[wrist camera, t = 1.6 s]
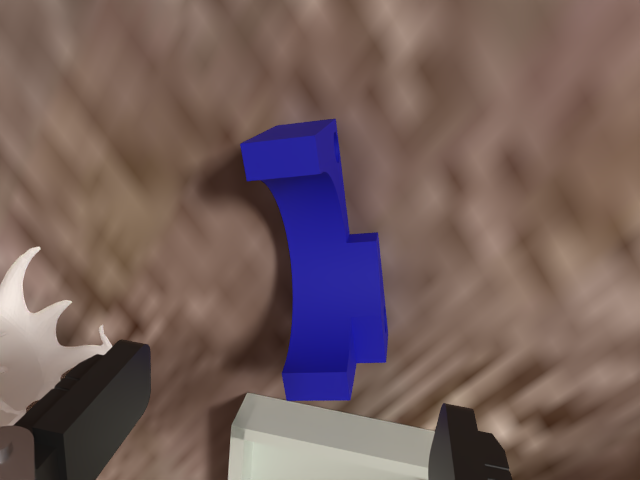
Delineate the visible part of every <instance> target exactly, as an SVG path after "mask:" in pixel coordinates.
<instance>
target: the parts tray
mask: <svg viewBox="0 0 640 480" xmlns="http://www.w3.org/2000/svg"><path fill="white" fill-rule="evenodd" d="M434 434H435V431H431V430H426V429H422V428H417V427H412V426H407V425H402V424H397V423H392V422H388V421H383V420H378V419H373V418H368V417H363V416H359V415H354V414H349V413H344V412H339V411H334V410H329V409H325V408H320V407H315V406H310V405H305V404H300V403H295V402H291V401H286V400H281V399H276V398H271V397H266V396H262V395H257V394H252V393H247V394H246V396H245V398H244V400H243V403H242V405H241V407H240V409H239V411H238V413H237V415H236V417H235V419H234V421H233V423H232V425H231V439H230V455H229V470H228V480H428V464H429V455H430V450H431V445H432V441H433V438H434Z"/></svg>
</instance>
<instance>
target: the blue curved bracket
mask: <svg viewBox="0 0 640 480" xmlns="http://www.w3.org/2000/svg"><path fill="white" fill-rule="evenodd" d="M240 146H241V151H242V157H243V162H244V168H245V173H246V179H247V181H255V180H261V181H262V182H264V183H265V184H266V185H267V186H268V188H269V189H270V191H271V192H272V194H273V196H274V198H275V200H276V202H277V204H278V207H279V210H280V212H281V216H282V219H283V222H284V226H285V230H286V235H287V240H288V246H289V252H290V260H291V269H292V285H293V313H292V328H291V337H290V344H289V349H288V354H287V358H286V362H285V366H284V369H283V371H282V377H283V383H284V388H285V394H286V399H287V401H311V400H350V399H351V393H352V387H353V381H354V375H355V369H356V363H383V362H386V355H387V341H388V329H387V319H386V309H385V299H384V289H383V278H382V268H381V258H380V248H379V238H378V233H364V234H350V235H349V227H348V219H347V210H346V202H345V193H344V185H343V177H342V168H341V160H340V151H339V143H338V135H337V126H336V119H328V120H320V121H312V122H303V123H295V124H287V125H278V126H275V127H273V128H271V129H269V130H267V131H265V132H263V133H261V134H259V135H257V136H255V137H253V138H251V139H249V140H247V141H245V142H243V143H241V144H240Z"/></svg>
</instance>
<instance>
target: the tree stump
mask: <svg viewBox="0 0 640 480" xmlns="http://www.w3.org/2000/svg"><path fill="white" fill-rule="evenodd" d="M39 250H40V247H36V248H34V247H33V248H32V249H29V250H28V251H27V252H26V253H24V254H23V255H21V256H20V257H19V258H18V259H17V260H16V261H15V262H14V263H13V264H12V266H11V267H10V269H9V270H8V271H7V273H6V275H5V277H4V279H3V281H2V283H1V285H0V427H1V426H13V425H14V424H15V423H16V422H17V421H18V420H19V419H20V418H21V417H23V416H24V415H25V414H26V407H28V406H29V405H30V404H31V403H32V402H34V401H37V400H40V399H42V398H43V397H44V396H45V395H46V394H47V393H48V392H49V391H50V390H51V389H54V387H55V385H56V384H57V383H58V382H59V381H61V380H60V378H61V376H62V374H63V373H65V372H66V371H68V370H70V369H71V368H73V367H75V366H76V365H77V364H78V363H80V362H82V361H84V360H86V359H88V358H90V357H92V356H94V355H96V354H100V355H105V354H106V353H107V352H108V351H109V350H110V349H111V348H112V347H113V346H112V345H111V343H110V342H109V340H108V338H107V337H106V336H105V335H104V331H103V325H101V326H100V327H99V333H100V336H101V339H102V341H103V344H102V345H101V346H98V345H83V346H77V347H64V346H61V345H60V344H59V343H58V340H57V337H56V324H57V320H58V318H59V316H60V315H61V313H62V312H63V311H64V310H65V309H66V308H67V307H68V306H69V305H70V304H71V303H72V301H68V300H63V301H60V302H57V303H55V304H52V305H50V306H48V307H46V308H45V309H43V310H41V311H39V312H37V313H31V312H29V310H28V309H27V307H26V304H25V301H24V296H23V285H22V283H23V278H24V274H25V271H26V268H27V266H28V263H29V262H30V260H31V259H32V257H33V256H34V255H35V254H36V252H38V251H39Z"/></svg>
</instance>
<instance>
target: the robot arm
mask: <svg viewBox="0 0 640 480" xmlns="http://www.w3.org/2000/svg"><path fill="white" fill-rule="evenodd" d="M150 392H151V363H150V347H149V345H147V344H142V343H137V342H132V341H127V340H119V341H118V342H117V343H116V344H115V345H114V346H113V347H112V348H111V349H110V350H109V351H108V352H107V353H106V354H105V355H100V354H96V355H94V356H92V357H90V358H88V359H86V360H84V361H82V362H80V363H78V364H77V365H76V366H75V367H74V368H73V369H72V370H71V371H70V372H69V373H68V374H67V375H66V376H65V379H64V378H63V379H62V380H61V381H59V382H58V383H57V384H56V385H55V387H54V389H51V390H50V391H49V392H48V393H47V394H46V395H45V396H44V397H43V398H42V399H40V400H39V401H38V402H37V403H36V404H35V405H34V406H33V407H32V408H31V409H30V410H29V411H28V412H27V413H26V414H25V415H24V416H23V417H21V418H20V419H19V420H18V421H17V422H16V423H15V424H14V425H13V426H1V427H0V480H95V479H96V478H97V477H98V475H99V474H100V473H101V471H102V470H103V468H104V467H105V466H106V464H107V463H108V462H109V460H110V459H111V457H112V456H113V455H114V453H115V452H116V451H117V449H118V448H119V446H120V445H121V444H122V442H123V441H124V439H125V438H126V437H127V435H128V434H129V433H130V431H131V430H132V428H133V427H134V426H135V424H136V423H137V422H138V420H139V419H140V417H141V416H142V415H143V413H144V411H145V409H146V407H147V405H148V402H149V398H150ZM428 480H512V477H511V474H510V472H509V466H508V462H507V458H506V454H505V451H504V449H503V448H502V446H501V445H500V444H499V442H498V441H497V440H496V438H495V437H494V436H493V434H491V433H486V432H481V431H478V429H477V424H476V419H475V414H474V411H473V409H471V408H465V407H460V406H455V405H450V404H445V403H444V404H443V405H442V407H441V410H440V414H439V418H438V422H437V426H436V430H435V434H434V438H433V441H432V445H431V450H430V455H429V464H428Z"/></svg>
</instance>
